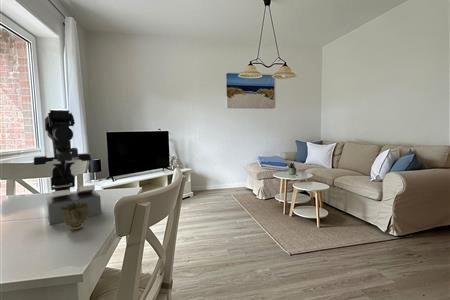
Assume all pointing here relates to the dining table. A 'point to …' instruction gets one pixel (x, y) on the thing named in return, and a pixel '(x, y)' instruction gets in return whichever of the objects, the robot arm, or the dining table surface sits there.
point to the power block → (57, 202)
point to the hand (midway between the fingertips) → (64, 179)
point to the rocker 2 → (85, 189)
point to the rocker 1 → (60, 193)
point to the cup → (75, 215)
